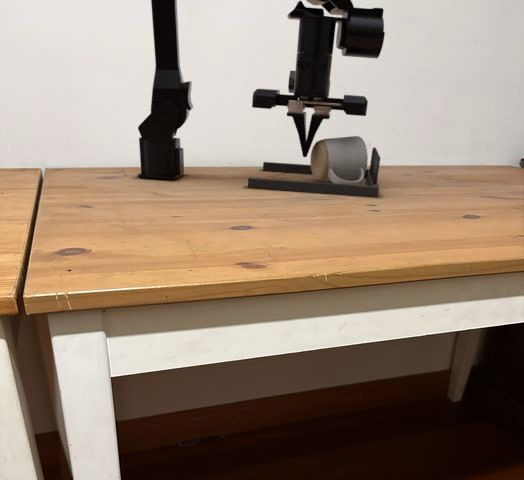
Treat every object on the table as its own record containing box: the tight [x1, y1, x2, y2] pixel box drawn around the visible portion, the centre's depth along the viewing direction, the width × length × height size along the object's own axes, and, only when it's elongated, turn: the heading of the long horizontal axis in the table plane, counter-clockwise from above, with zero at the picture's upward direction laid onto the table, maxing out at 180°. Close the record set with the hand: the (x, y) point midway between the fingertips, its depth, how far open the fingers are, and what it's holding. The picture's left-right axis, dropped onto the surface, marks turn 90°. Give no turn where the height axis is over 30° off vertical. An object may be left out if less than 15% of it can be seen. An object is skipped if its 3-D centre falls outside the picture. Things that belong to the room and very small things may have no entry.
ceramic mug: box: [310, 135, 369, 185], centre depth 90 cm, size 11×8×8 cm
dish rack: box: [247, 146, 381, 198], centre depth 91 cm, size 21×19×6 cm
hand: (304, 156), depth 91 cm, fingers closed
